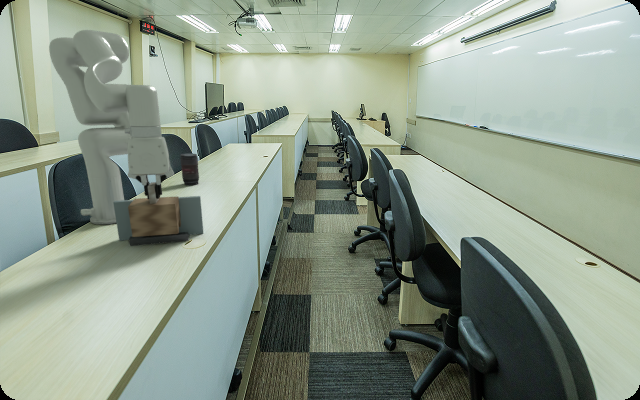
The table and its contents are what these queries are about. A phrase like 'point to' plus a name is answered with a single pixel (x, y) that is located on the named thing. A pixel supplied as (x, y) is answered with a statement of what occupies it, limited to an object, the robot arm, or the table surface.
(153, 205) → the walnut cabinet
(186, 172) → the camera lens
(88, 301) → the table surface
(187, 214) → the wall board
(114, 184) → the robot arm
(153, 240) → the rail
